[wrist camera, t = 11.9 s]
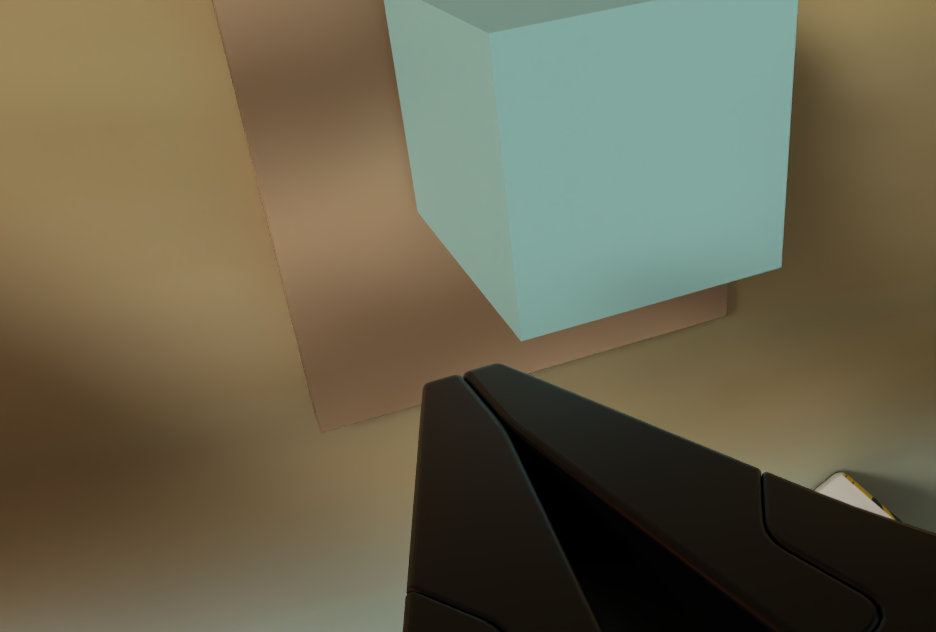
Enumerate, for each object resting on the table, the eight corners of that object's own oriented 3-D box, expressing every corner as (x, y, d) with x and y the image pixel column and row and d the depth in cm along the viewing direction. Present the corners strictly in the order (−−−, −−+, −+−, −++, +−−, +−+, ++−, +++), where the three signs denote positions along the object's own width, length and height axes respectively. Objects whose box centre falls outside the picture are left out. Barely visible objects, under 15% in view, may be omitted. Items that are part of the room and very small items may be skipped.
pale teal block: (617, 163, 22) (781, 267, 16) (417, 212, 21) (520, 341, 15) (608, -62, 19) (800, -30, 14) (380, -21, 18) (488, 32, 13)
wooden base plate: (711, 304, 26) (878, 433, 20) (315, 416, 23) (376, 603, 18) (726, -366, 18) (1007, -472, 12) (134, -312, 16) (135, -414, 10)
